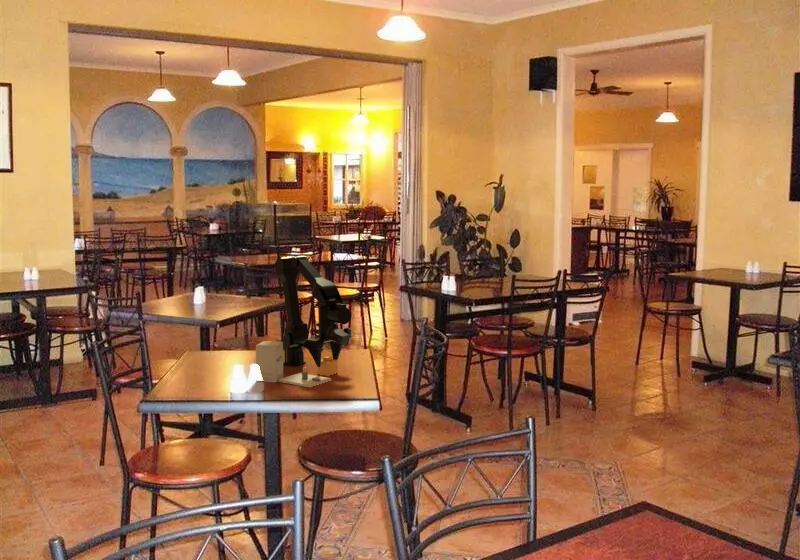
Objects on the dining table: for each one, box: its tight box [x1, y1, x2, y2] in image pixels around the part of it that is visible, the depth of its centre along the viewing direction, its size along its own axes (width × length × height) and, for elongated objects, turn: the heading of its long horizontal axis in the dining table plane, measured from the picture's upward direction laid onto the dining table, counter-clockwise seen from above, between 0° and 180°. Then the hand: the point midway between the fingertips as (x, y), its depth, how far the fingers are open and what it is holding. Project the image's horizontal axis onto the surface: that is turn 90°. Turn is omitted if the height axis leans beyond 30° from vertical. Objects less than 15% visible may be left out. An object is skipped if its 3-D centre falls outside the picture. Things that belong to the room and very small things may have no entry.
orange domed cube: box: [316, 355, 339, 377], centre depth 288 cm, size 5×5×6 cm
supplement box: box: [255, 340, 284, 383], centre depth 280 cm, size 7×7×13 cm
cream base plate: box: [277, 366, 332, 388], centre depth 279 cm, size 14×11×5 cm
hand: (327, 364), depth 288 cm, fingers open, 9 cm apart
